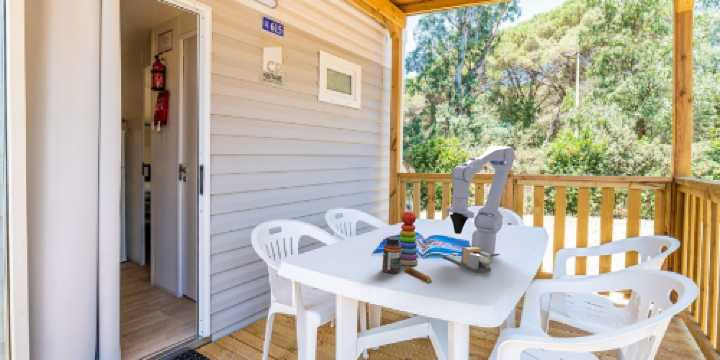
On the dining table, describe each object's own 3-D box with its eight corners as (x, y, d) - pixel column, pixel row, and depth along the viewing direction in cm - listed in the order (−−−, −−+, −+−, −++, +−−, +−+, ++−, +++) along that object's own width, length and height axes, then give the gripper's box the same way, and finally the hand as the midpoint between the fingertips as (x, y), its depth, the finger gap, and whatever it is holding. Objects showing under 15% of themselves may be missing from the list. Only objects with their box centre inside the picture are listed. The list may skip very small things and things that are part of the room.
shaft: (457, 259, 144) (458, 246, 143) (469, 258, 146) (470, 245, 146) (480, 269, 132) (481, 255, 132) (493, 268, 134) (494, 254, 134)
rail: (442, 257, 151) (443, 243, 150) (457, 255, 154) (458, 242, 153) (474, 272, 134) (475, 256, 134) (490, 270, 137) (492, 255, 136)
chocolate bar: (426, 284, 120) (426, 277, 120) (403, 272, 131) (403, 266, 131) (432, 283, 122) (433, 276, 121) (409, 271, 132) (410, 265, 132)
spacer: (479, 263, 141) (480, 248, 140) (467, 264, 139) (468, 249, 138) (475, 261, 143) (476, 246, 143) (462, 262, 141) (464, 247, 141)
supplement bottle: (380, 268, 133) (382, 235, 132) (398, 268, 133) (400, 235, 133) (383, 273, 127) (385, 239, 126) (401, 274, 128) (403, 240, 127)
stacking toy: (419, 261, 143) (423, 210, 142) (415, 267, 136) (418, 214, 134) (398, 258, 146) (401, 208, 144) (393, 264, 138) (396, 211, 137)
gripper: (440, 195, 152) (438, 229, 153) (464, 200, 139) (461, 238, 140) (455, 195, 155) (452, 229, 156) (480, 200, 142) (477, 237, 143)
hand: (457, 233), depth 148 cm, fingers closed
